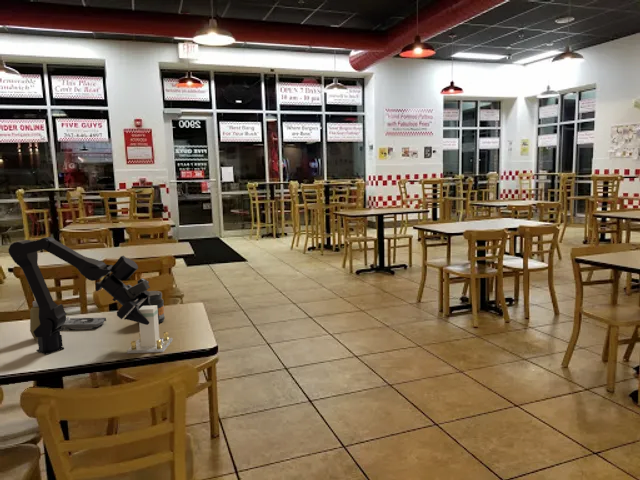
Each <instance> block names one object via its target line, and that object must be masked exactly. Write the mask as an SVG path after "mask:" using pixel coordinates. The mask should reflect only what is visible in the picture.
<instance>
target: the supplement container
mask: <svg viewBox="0 0 640 480" xmlns="http://www.w3.org/2000/svg"><path fill="white" fill-rule="evenodd" d="M147 291H148V292H149V293H150V294H149V296H150V303H151V305H152V306H153V305H157V309H158V323H159V324H160V323H162V322H164V320H165V318H166V317H165V306H164V304H165V303H164V302H165V301H164V300H165V299H163V298H162V297H163V292H162V291H159V290H147Z"/></svg>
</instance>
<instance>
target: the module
mask: <svg viewBox="0 0 640 480" xmlns="http://www.w3.org/2000/svg"><path fill="white" fill-rule="evenodd" d="M139 311H140V312H141V313H142V314H143V315H144V316H145V318H146V319H147V320H148V321H149V324H148V325H145V324H142V323H138V325H139V333H140V339H141V346H156V345H157V344H156V341H157V340H160V338H161V337H160V325H159V324H160V323H158V309H157V305H153V306H142V307H141V308H140V309H139Z"/></svg>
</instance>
